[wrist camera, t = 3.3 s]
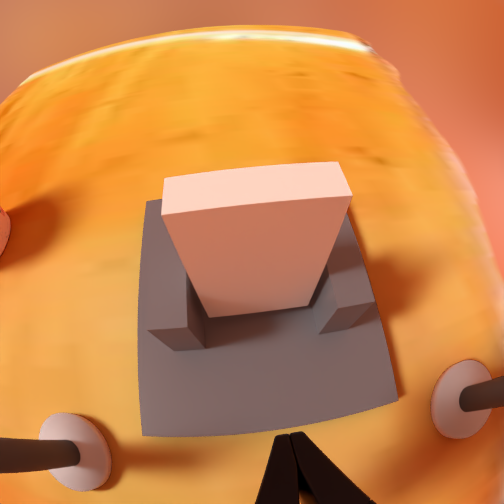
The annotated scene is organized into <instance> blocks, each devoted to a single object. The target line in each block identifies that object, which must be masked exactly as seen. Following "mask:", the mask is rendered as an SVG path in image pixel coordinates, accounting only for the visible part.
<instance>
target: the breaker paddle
mask: <svg viewBox="0 0 504 504" xmlns="http://www.w3.org/2000/svg"><path fill="white" fill-rule="evenodd" d="M352 196H353V195H352V193H351V190H350V188H349V186H348V183H347V181H346V179H345V176H344V174H343V172H342V170H341V168H340V165H339V163H338V162H317V163H298V164H283V165H270V166H258V167H248V168H238V169H229V170H220V171H212V172H204V173H196V174H189V175H182V176H175V177H169V178H164V188H163V199H162V211H161V216H162V218H163V221H164V223H165V225H166V228H167V230H168V232H169V234H170V237H171V239H172V241H173V243H174V246H175V248H176V250H177V252H178V254H179V257H180V259H181V261H182V263H183V265H184V267H185V270H186V272H187V274H188V276H189V278H190V280H191V282H192V284H193V286H194V288H195V291H196V293H197V295H198V297H199V299H200V301H201V303H202V305H203V307H204V309H205V311H206V313H207V315H208V317H209V318H211V317H221V316H231V315H240V314H248V313H257V312H265V311H272V310H280V309H287V308H294V307H301V306H308V304H309V302H310V299H311V297H312V295H313V293H314V290H315V288H316V286H317V283H318V281H319V279H320V277H321V274H322V272H323V269H324V267H325V265H326V262H327V260H328V258H329V255H330V253H331V250H332V248H333V245H334V243H335V240H336V238H337V235H338V233H339V230H340V228H341V225H342V223H343V220H344V217H345V215H346V212H347V209H348V207H349V204H350V201H351V199H352Z"/></svg>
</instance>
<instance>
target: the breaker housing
mask: <svg viewBox="0 0 504 504" xmlns="http://www.w3.org/2000/svg"><path fill="white" fill-rule="evenodd" d="M161 211H162V199H158V200H152V201H147V202H146V210H145V219H144V228H143V238H142V249H141V262H140V277H139V297H138V380H139V399H140V413H141V425H142V436H158V437H199V436H221V435H235V434H246V433H255V432H263V431H271V430H278V429H285V428H291V427H297V426H302V425H308V424H313V423H318V422H322V421H327V420H331V419H336V418H340V417H344V416H348V415H352V414H356V413H359V412H363V411H367V410H370V409H373V408H377V407H380V406H383V405H386V404H389V403H393V402H396V401H398V395H397V389H396V384H395V379H394V374H393V369H392V365H391V360H390V356H389V351H388V347H387V343H386V339H385V334H384V330H383V327H382V323H381V319H380V315H379V311H378V308H377V304H376V301H375V297H374V294H373V290H372V287H371V283H370V280H369V277H368V274H367V270H366V267H365V264H364V261H363V258H362V255H361V252H360V249H359V246H358V243H357V240H356V237H355V234H354V231H353V229H352V226H351V223H350V220H349V218H348V215H347V212H346V215H345V217H344V220H343V223H342V225H341V228H340V230H339V233H338V235H337V238H336V240H335V243H334V245H333V248H332V250H331V253H330V255H329V258H328V260H327V262H326V265H325V267H324V269H323V272H322V274H321V277H320V279H319V281H318V283H317V286H316V288H315V290H314V293H313V295H312V297H311V299H310V302H309V304H308V306H301V307H294V308H287V309H280V310H272V311H265V312H257V313H248V314H240V315H231V316H221V317H211V318H209V317H208V315H207V313H206V311H205V309H204V307H203V305H202V303H201V301H200V299H199V297H198V295H197V293H196V291H195V288H194V286H193V284H192V282H191V280H190V278H189V276H188V274H187V272H186V270H185V267H184V265H183V263H182V261H181V259H180V257H179V254H178V252H177V250H176V248H175V246H174V243H173V241H172V239H171V237H170V234H169V232H168V230H167V228H166V225H165V223H164V221H163V218H162V216H161Z"/></svg>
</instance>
